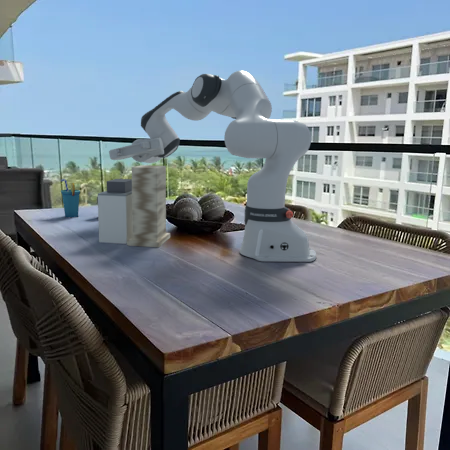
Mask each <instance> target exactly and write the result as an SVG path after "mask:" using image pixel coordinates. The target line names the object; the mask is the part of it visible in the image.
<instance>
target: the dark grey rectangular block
mask: <svg viewBox="0 0 450 450" xmlns="http://www.w3.org/2000/svg"><path fill="white" fill-rule="evenodd" d="M106 191H107V192H110V193H127V192H130V191H132V178H114V179H111V180H106Z"/></svg>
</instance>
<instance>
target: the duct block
mask: <svg viewBox="0 0 450 450" xmlns="http://www.w3.org/2000/svg"><path fill="white" fill-rule="evenodd" d="M97 197H98V203H97V215H98V216H97V217H98V242H99V243H103V244H104V243H106V244H123V245H125V244H126V245H127V241H128V240H129V239H131V238H132V237H133V229H132V191H130V192H127V193H110V192H107V190H104V191H102V192H99V193H97Z"/></svg>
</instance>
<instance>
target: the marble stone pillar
mask: <svg viewBox="0 0 450 450" xmlns="http://www.w3.org/2000/svg"><path fill="white" fill-rule="evenodd" d="M166 169H167V166H166V165H147V164H146V165H144V164H141V165H136V166H131V179H132V229H133V237H132V238H131V239H129V240H128V241H127V244H126V245H127V246H129V247H130V246H131V247H132V246H133V247H148V248H160V247H161V246H162V245H164V243H166V242H167V241H168V240H169V239H170V238H171V232H167V206H166V205H167V190H166V189H167V188H166V187H167V171H166Z"/></svg>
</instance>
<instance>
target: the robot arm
mask: <svg viewBox="0 0 450 450" xmlns="http://www.w3.org/2000/svg"><path fill="white" fill-rule="evenodd" d="M272 109H273V108H272V103H271V100H270V99H269V98H268V96H267V94H266V93H265V91H264V88H262V85H261V84H260V82H259V81H258V80H257V79H256V78H255V77H254V76H253V75H252V74H251V73H250V72H249V71H246V70H236V71H234V72H232V73H231V74H230V75H229V76H228V77H227V78H226V79H224V78H223V77H220V76H219V75H216V74H211V73H202V74H200V75H198V76H196V78H195V79H194V82H193V84H192V86H191V87H190V88H189V89H188V90H187V91H186V92H185V91H183V90H179V91H176V92H174V93H172V94H170V95H169V96H168V97H166V98H165V99H163V100H162V101H161V102H160V103H159V104H157V105H156V106H155V107H153V108H152V109H150V110H149V111H147V112H145V113H144V114H143V115H142V116H141V118H140V127H141V128H142V129H143V130H144V132H145V133H146V134H147V135H148V138H138V139H136V140H134V141H133V142H132V143H131V144H130V145H125V146H122V147H117V148H116V147H115V148H113V149H110V150H109V151H108V153H109V158H110V160H111V161H121V160H126V159H129V158H132V159H133V160H134V161H136V162H138V163H145V164H146V163H147V164H154V163H157V162H159V161H161V159H166V158H167V157H169V156H171V155H172V154H173V153H175V152H176V151H177V150H178V148H179V146H180V141H181V140H180V137H179V136H178V134H177V132H176V131H175V129H174V128H173V127H172V126H171V124H170V122H169V121H168V120H167V118H166V114H167V113H169V112H170V111H171V110H174V111H176V112H177V113H179V114H180V115H181V116H183V118H185V119H188V120H191V121H202V120H204V119H205V118H206V117H207V116H208V115H209V114H211V113H212V112H213V113H216V114H218V115H222V116H225V117H228V118H231V119H233V120H232V121H230V123H229V124H227V126H226V129H225V131H224V145H225V147H226V150H227V151H228V152H229V154H230V155H232V156H236V157H239V158H244V159H265V161H264V164H263V166H262V167H261V169H259V170H258V171H255V172H254V173H253V174H251V176H249V178H248V180H247V186H246V187H247V188H246V189H247V190H246V205H245V206H244V214H243V216H244V217H243V219H244V220H243V221H244V231H243V233H244V234H243V237H242V243H241V246H240V249H239V254H241V255H242V256H245V257H248V258H251V259H254V260H256V261H258V262H283V263H284V262H285V263H286V262H291V263H293V262H296V263H297V262H299V263H300V262H301V263H302V262H307V263H308V262H309V263H310V262H314V261H315V260H316V259H317V252H316V250H314V248H312V247H310V242H309V238H308V235H307V233H306V232H305V231H304V230H303V229H302V228H301V227H299V226H298V225H297V224H296V223H295V222H294V221H292V220H291V219H292V218H293V216H294V212H293V211H292V210H291V209H290V208H288V207H286V206H285V204H286V193H287V192H286V190H287V183H288V179H289V176H290V173H291V171H292V169H293V168H294V165H295V164H297V162H298V160H299V159H300V158H301V157H303V156H304V155H305V154H307V152H308V151H309V149H310V147H311V143H312V135H311V131H310V129H309V127H308V126H307V125H306V124H305V123H303V122H300V121H296V120H292V119H279V118H276V119H275V118H270V117H271V116H272V112H273V111H272Z"/></svg>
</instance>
